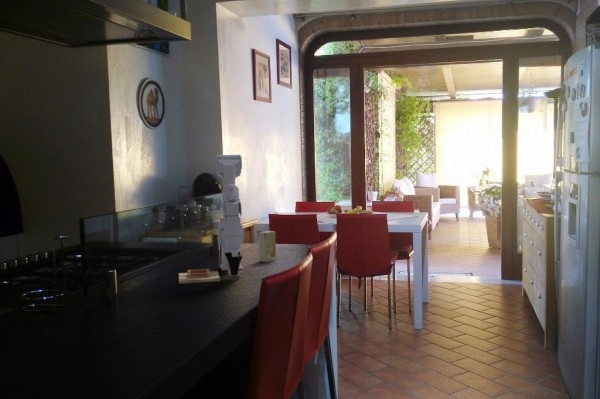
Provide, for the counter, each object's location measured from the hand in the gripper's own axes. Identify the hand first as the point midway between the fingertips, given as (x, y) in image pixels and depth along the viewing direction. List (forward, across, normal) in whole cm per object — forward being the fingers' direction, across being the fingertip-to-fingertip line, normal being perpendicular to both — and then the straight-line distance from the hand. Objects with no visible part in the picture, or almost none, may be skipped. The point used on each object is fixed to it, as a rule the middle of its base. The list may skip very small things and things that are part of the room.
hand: (233, 273), depth 206 cm
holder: (+2, -5, -12) cm, 13 cm away
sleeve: (+2, 0, 0) cm, 2 cm away
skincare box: (+2, -33, +17) cm, 37 cm away
